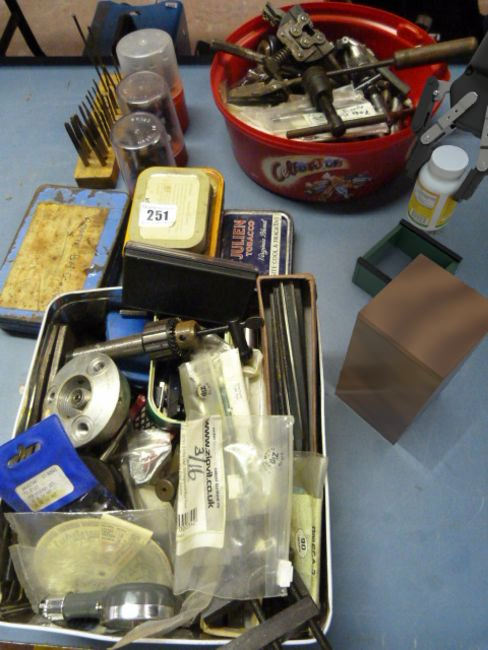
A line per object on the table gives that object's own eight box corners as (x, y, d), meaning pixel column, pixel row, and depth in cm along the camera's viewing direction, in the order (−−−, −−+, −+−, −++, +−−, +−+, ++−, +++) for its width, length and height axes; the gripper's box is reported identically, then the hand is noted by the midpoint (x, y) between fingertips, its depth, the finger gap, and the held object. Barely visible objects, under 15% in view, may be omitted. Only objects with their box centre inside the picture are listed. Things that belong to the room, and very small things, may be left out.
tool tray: (451, 280, 77) (463, 257, 72) (407, 323, 73) (417, 303, 69) (394, 241, 81) (402, 217, 76) (351, 281, 77) (356, 259, 73)
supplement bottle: (407, 231, 63) (426, 174, 55) (404, 199, 66) (423, 139, 58) (451, 233, 63) (478, 175, 54) (447, 200, 65) (472, 140, 57)
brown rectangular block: (440, 394, 68) (506, 310, 49) (393, 446, 65) (444, 378, 46) (381, 347, 72) (420, 252, 53) (334, 394, 69) (358, 312, 50)
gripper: (458, -1, 51) (371, 157, 58) (600, 50, 46) (487, 218, 53) (467, 26, 58) (388, 166, 64) (593, 74, 53) (493, 221, 59)
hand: (433, 189), depth 58 cm, fingers closed on supplement bottle, 5 cm apart
